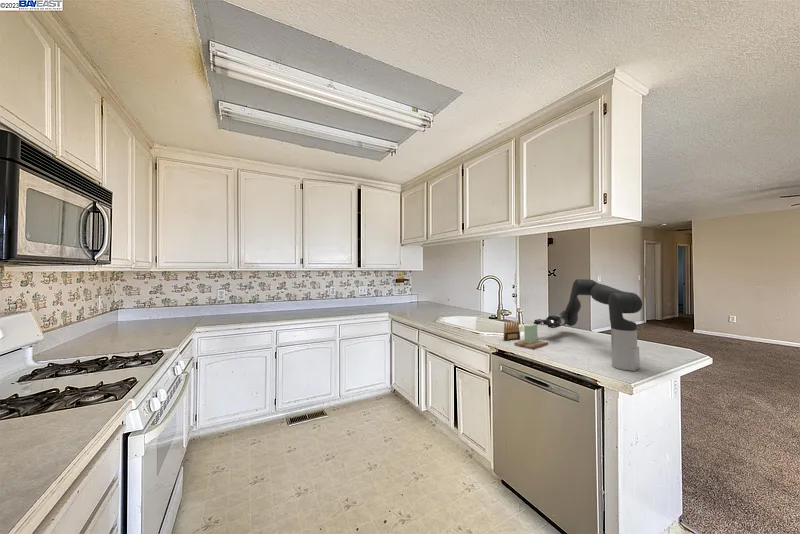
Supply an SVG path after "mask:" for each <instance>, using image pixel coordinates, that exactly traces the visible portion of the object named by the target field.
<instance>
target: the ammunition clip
mask: <svg viewBox="0 0 800 534" xmlns="http://www.w3.org/2000/svg"><path fill="white" fill-rule="evenodd" d="M503 324H504V326H503V342H512V341H521V331H520V325H519V320H512V321H511V320H510V321H508V320H507V321H504V323H503ZM511 340H512V341H511Z"/></svg>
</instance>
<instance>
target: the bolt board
mask: <svg viewBox="0 0 800 534" xmlns="http://www.w3.org/2000/svg"><path fill="white" fill-rule="evenodd" d="M513 345H514V346H516V347H519V348H524V349H528V350H533V351H535V350H538V349H540V348H543V347H546V346H549V341H545V340H544V341H543V340H540V339H539V340H538V342H535V343H532V344H527V343H525V339H522V340H518V341H516V342H514V343H513ZM537 348H538V349H537Z"/></svg>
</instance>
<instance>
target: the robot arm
mask: <svg viewBox="0 0 800 534" xmlns="http://www.w3.org/2000/svg"><path fill="white" fill-rule="evenodd" d="M572 283H573V284H572V287H571V291H570V296H569V300H568V303H567V306H566V308H565V310H563V311H561V312H560V313H559V314H553V315H549V316H547V317H545V318H544V319H543V318H542V319H541V318H538V319H534V321H533V324H537V326H545V327H546V326H547V328H549V329H550V328H551V329H557V328H560V327H562V326H565V325H568V326H570V327H572V326H573V327H574V326H575V325H576V324H577V323H578V319H579V316H578V314H579V312H580V310H581V308H582V305H581V304H582V303H581V301H580V300H579V298H578V296H591V298H592V299H593V300H594V301H596V302H597V303H600V304H603V305H608V310H609V314H608V315H609V321H610V339H611V341H610V342H611V343H610V345H611V346H610V347H611V349H610V350H611V366H612V368H613V367H614V368H615V369H618V370H623V371H630V372H631V371H633V372H636V371H637V370H640V367H641V366H640V347H639V345H638V327H637V326H638V325H637V323H636V322H634V321H631V320H628V319H625V318H624V315H623V314H636V313H639V312H640V311H641V310H642V308H643V301H642V298H641V297H640V296H639V295H638V294H637V293H635V292H629V291H622V290H620V289H617V288H615V287H612V286H610V285H605V284H602V283H598V282H597V281H595V280H593V279H587V278H586V279H585V278H584V279H583V278H580V279H579V278H578V279H575V280H574V281H573V282H572Z"/></svg>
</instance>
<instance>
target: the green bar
mask: <svg viewBox="0 0 800 534" xmlns="http://www.w3.org/2000/svg"><path fill="white" fill-rule="evenodd" d="M523 331H524V332H523V333H524V340H525V343H527V344H532V343H535V342H538V339H539V338H538V325H537V324H534V323H528V324H525V325H524V328H523Z"/></svg>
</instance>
